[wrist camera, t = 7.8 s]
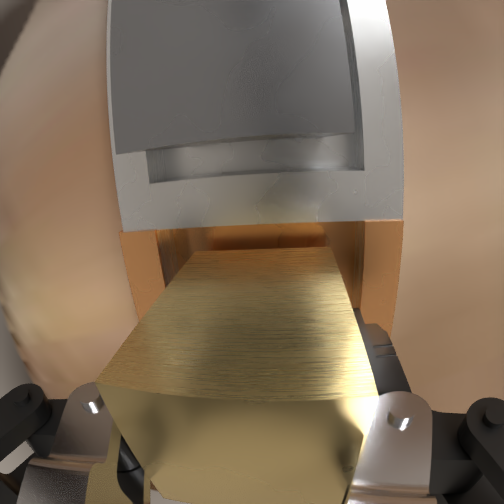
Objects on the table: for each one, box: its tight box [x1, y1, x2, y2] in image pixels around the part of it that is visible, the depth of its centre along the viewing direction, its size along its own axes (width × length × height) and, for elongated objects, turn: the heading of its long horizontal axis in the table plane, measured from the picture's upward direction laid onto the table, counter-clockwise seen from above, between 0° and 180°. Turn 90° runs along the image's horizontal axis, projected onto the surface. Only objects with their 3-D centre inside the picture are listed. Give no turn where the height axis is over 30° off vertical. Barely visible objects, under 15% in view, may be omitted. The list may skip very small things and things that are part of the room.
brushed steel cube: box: [110, 0, 355, 155], centre depth 7 cm, size 4×4×5 cm
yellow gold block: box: [95, 247, 379, 504], centre depth 8 cm, size 4×4×6 cm
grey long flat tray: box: [107, 0, 404, 337], centre depth 9 cm, size 26×9×3 cm, turn 4°
